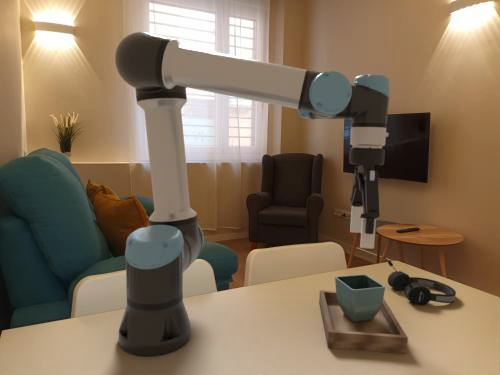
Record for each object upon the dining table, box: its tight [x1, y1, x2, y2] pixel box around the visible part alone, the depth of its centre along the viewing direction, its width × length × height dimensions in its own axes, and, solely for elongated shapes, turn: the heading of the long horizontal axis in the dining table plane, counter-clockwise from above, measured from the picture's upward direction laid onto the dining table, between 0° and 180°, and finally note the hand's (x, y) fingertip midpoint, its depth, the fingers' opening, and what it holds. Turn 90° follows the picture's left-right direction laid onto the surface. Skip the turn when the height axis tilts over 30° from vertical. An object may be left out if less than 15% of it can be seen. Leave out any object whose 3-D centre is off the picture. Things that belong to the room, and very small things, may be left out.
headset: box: [387, 260, 457, 306], centre depth 106 cm, size 14×10×20 cm
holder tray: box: [318, 289, 409, 355], centre depth 88 cm, size 16×22×4 cm
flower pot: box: [334, 274, 386, 322], centre depth 90 cm, size 9×9×9 cm
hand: (360, 239), depth 86 cm, fingers open, 13 cm apart
